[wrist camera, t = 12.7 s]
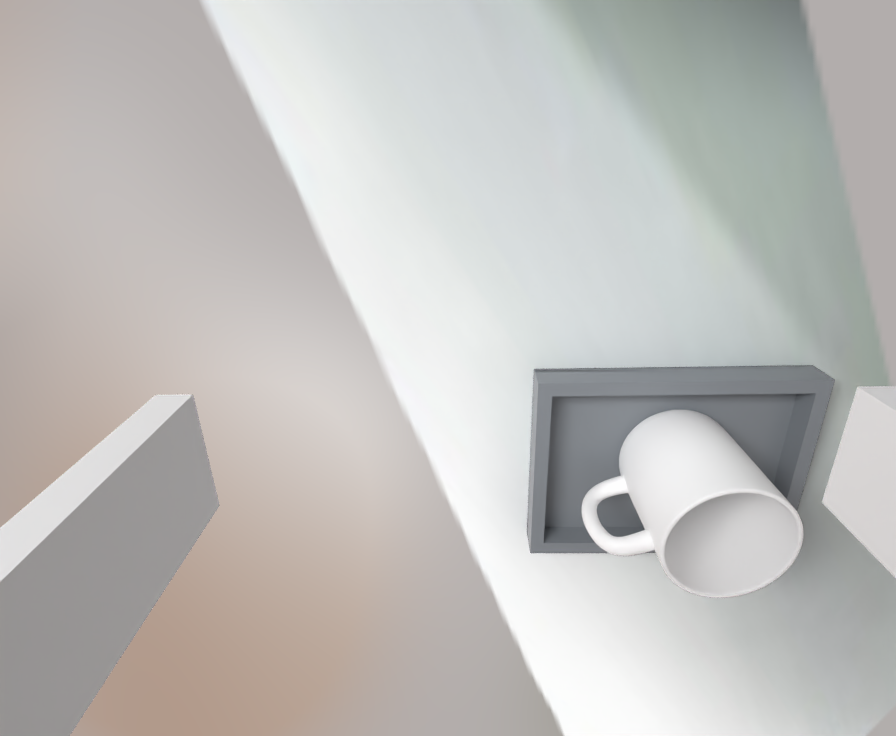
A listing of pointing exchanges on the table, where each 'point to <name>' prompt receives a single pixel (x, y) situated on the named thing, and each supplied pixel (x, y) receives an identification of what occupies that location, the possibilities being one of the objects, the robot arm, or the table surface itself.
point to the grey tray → (635, 399)
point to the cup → (699, 507)
